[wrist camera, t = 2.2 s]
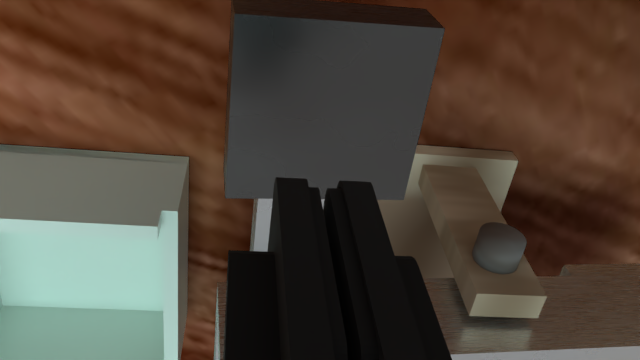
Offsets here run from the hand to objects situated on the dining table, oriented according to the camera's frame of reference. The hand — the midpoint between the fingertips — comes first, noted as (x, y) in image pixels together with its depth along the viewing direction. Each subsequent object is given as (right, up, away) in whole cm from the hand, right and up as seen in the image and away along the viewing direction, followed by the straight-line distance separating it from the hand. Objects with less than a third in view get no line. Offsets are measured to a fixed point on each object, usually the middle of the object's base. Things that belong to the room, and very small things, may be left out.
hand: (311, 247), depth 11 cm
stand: (+5, -2, +19) cm, 20 cm away
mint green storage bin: (-11, -1, +17) cm, 20 cm away
